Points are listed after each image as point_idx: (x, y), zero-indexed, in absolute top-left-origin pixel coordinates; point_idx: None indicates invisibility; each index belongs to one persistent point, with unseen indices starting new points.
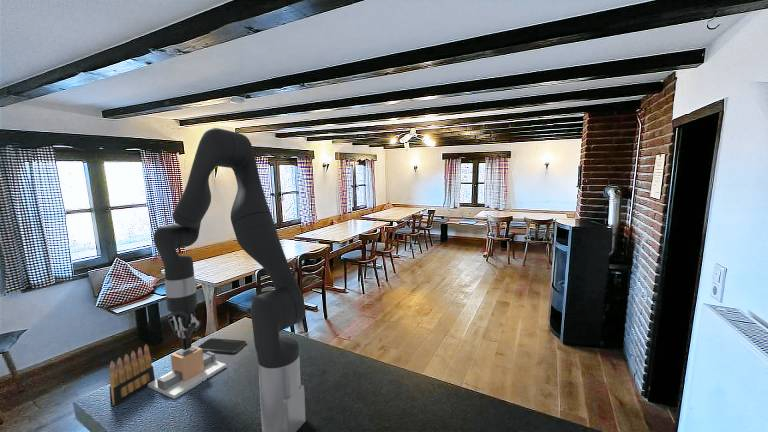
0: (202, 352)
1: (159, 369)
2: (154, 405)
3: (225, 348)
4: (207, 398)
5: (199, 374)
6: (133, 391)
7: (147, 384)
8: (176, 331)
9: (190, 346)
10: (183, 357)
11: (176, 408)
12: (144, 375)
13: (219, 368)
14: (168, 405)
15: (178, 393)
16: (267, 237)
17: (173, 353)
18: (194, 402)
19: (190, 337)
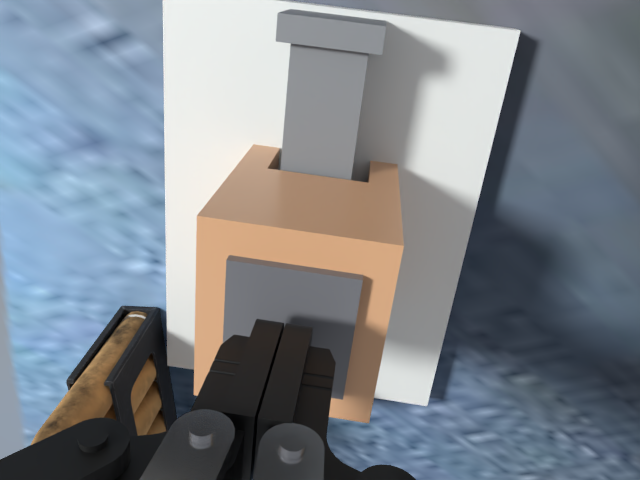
0: (400, 228)
1: (36, 206)
2: (363, 441)
3: None
4: (624, 349)
5: (404, 214)
6: (167, 423)
7: (160, 355)
8: None
9: (328, 357)
10: (354, 406)
11: (500, 436)
12: (134, 409)
13: (501, 98)
14: (437, 429)
15: (431, 384)
16: None
17: (195, 375)
18: (567, 388)
19: (325, 438)
